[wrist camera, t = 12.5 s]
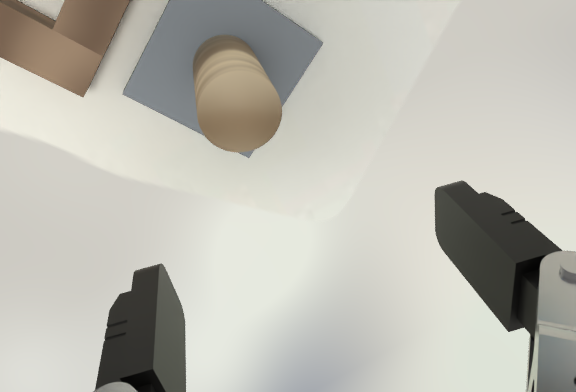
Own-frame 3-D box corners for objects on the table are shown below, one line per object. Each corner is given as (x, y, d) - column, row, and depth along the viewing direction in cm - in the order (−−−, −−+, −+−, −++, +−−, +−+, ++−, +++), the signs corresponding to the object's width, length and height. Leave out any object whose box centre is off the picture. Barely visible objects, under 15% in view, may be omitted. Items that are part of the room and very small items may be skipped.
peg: (188, 36, 30) (192, 74, 22) (255, 32, 31) (281, 68, 23) (196, 101, 32) (202, 156, 24) (258, 96, 33) (282, 148, 25)
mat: (123, 90, 31) (122, 94, 31) (193, -47, 28) (193, -47, 28) (247, 153, 36) (248, 158, 35) (320, 40, 32) (323, 43, 32)
